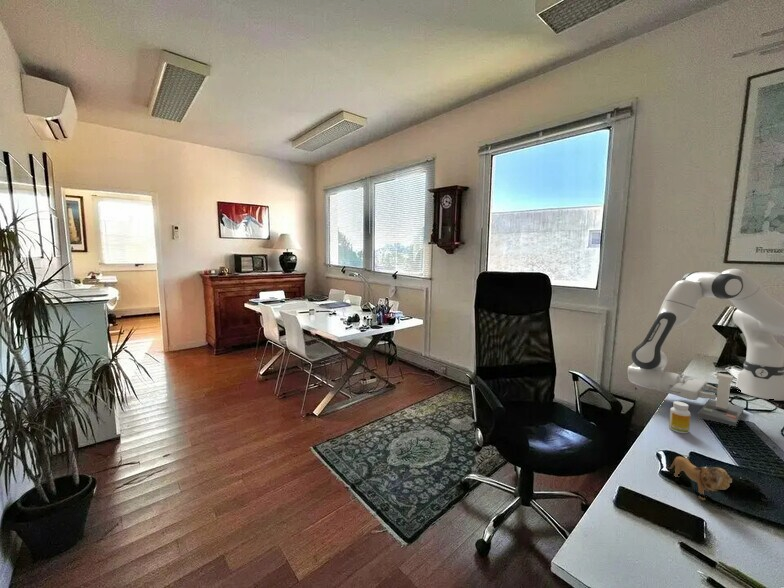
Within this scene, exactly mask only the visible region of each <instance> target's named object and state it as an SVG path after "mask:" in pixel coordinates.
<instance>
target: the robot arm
mask: <svg viewBox="0 0 784 588" xmlns="http://www.w3.org/2000/svg"><path fill="white" fill-rule="evenodd" d="M702 298H711V299H712V298H713V299H721V300H722V299H723V300H726V299H727V300H728V301H730V303H731V304H732V305H733V306H734V308H736V309H735V311H734V312H733V314H732V321H733V323H734V324H735V325H736V326H737V327H738V328H739V329H740V331H741V332H742V334H743V335H744V338H745V341H746V353H745V354H746V356H745V360H744V362H743V369H742V370H740V371H738V372H737V378H736V382H735V384H736V387H738V388H739V389H740V390H741V392H740V393H742V394H745V395H746V396H747V395H748V396H751V397H754V398H759V399H763V400H769V399H774V400H773V401H784V346H783V345H782V344H780V343H779V342H778V341H777V340H776V339H775V337H774V335H775V336H780V337H784V304H783V303H782V302H780V301H778V300H776V299H775V298H773V297H772V296H770V295H769V293H767V291H766V290H765V289H764V288H763V287H762V286H761V285H760V284H759V283H758V282H757V280H755V279H754V278H753V277H752V276H750V275H749V274H748V273H747V272H745V271H744V270H742V269H739V268H729V269H725V270H723V271H721V272H717V271H691V272H688V273H685V274H684V275H683V276H682V277H681V279H680V280H678V281H676V282H674V284H673V285H672V287H671V288H670V289H669V291H668V293H667V294H666V295H665V297H664V299H663V302H662V304H661V306H660V308H659V311H658V313H657V316H656V318H655V320H654V322H653V324H652V326H651V327H650V329H649V330H648V332H647V334H646V337H645V338H644V339H643V341H642V342H641V343H640V344H639V345H637V346H636V347H635V348H633V349H632V352H631V360H632V364H630V365H628V366H627V369H626V374H627V375H626V376H627V379H628V381H629V382H630V383H632V384H634V385H636V386H640V387H643V388H646V389H650V390H652V389H653V390H657V391H659V392H661V393H666V394H670V395H674V396H677V397H679V398H680V397H681V398H684V399H687V400H690V401H697V400H698V398H701V399H708V400H709V399H711V400H715V401H716V399H717V389H718V387H715V386H713V385H712V384H708V381H707V380H705V379H702V378H699V377H695V376H691V375H687V374H686V375H684V373H683V372H679V371H678V372H670V371H665V369H666V366H667V364H668V357H667V354H666V353H665V352H664V351H663V350H662V347H663V345H664V344H665V342H666V340H667V338H668V337H669V335H670V333H671V332H672V331H673V330H674V329H675V328H677V327H679V326H683V325H685V324H687V322H688V321H690V319H691V318H692V317H693V315H694V314H695V311H696V309H697V308H698V305H699V303H700V300H701V299H702ZM705 391H708V392H713V393H708V392H705Z"/></svg>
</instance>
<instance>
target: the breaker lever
mask: <svg viewBox="0 0 784 588" xmlns="http://www.w3.org/2000/svg"><path fill="white" fill-rule="evenodd" d="M716 380H718V381H717V382H718V383H717V388H718V389H717V393H716V399H715V401H716V409H720V410H724V411H727V409H728V404H729V400H730V391H731V388H730V387H731V385H732V384H731V383H732V382H733V381H734V375H730V374H725V373H720V372H719V373H717V374H716Z"/></svg>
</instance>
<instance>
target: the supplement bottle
mask: <svg viewBox="0 0 784 588" xmlns="http://www.w3.org/2000/svg"><path fill="white" fill-rule="evenodd" d="M668 419H669V420H668V428H669V430H671V431H673V432H675V433H679V434H688V433H689V432H690V421H691V412H690V411H689V404H687V403H685V402H683V401H678V400H676V401H673V406H672V407H670V410H669V418H668Z"/></svg>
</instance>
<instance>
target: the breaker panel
mask: <svg viewBox="0 0 784 588" xmlns="http://www.w3.org/2000/svg"><path fill="white" fill-rule="evenodd" d="M744 410H745V407H743V406H739V405H734V404H731V403H728V409H727V411H724V410H720V409H716V399H715V400H713V399H709V398H708V400H707V401H706V402H705V403H704V405H703V406H702V407H701V409H700V410H699V411H698V412H697V418H698V419H702V420H706V421H709V420H711V421H710V422H712V421H716V422H721V423H725V424H729V425H733V426H736V427H737V425H738V423H739V421H740V419H741V418H742V415H743V414H744ZM738 420H739V421H738ZM716 422H715V423H716ZM737 422H738V423H737ZM736 424H737V425H736Z"/></svg>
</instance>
